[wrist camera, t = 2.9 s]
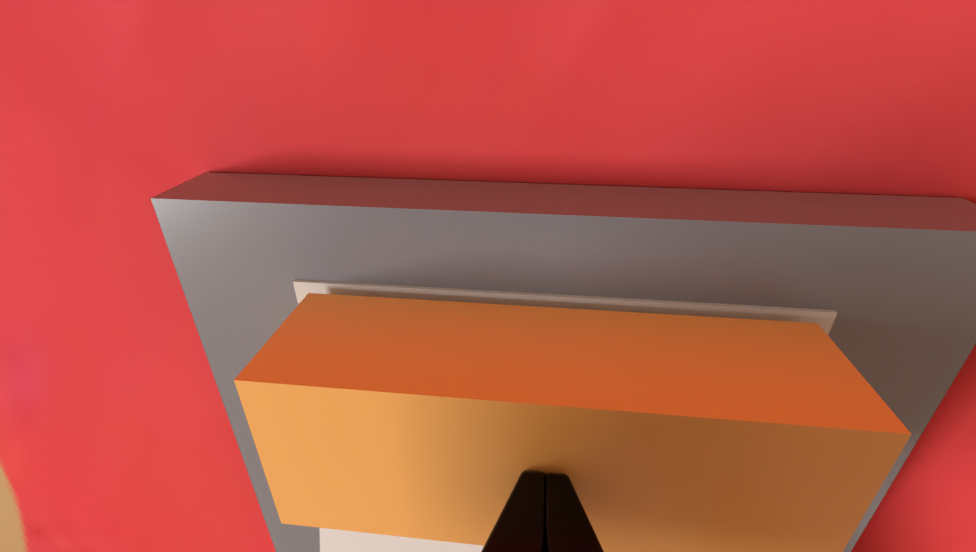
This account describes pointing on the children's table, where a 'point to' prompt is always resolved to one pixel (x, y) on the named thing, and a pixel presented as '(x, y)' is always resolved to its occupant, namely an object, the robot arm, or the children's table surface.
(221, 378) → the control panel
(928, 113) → the children's table surface
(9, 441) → the children's table surface
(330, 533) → the cream plate with stripe
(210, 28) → the children's table surface
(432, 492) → the orange key
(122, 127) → the children's table surface
